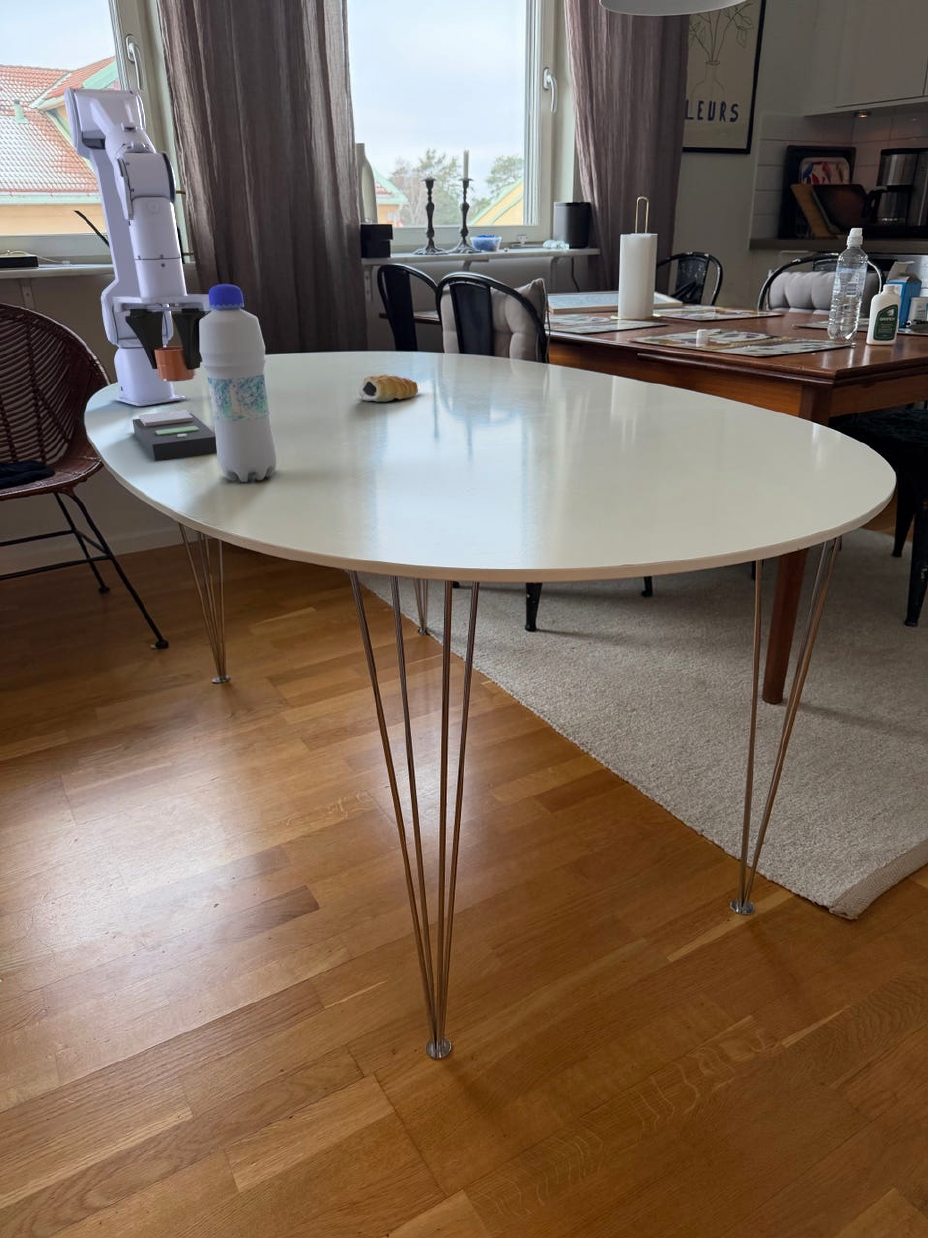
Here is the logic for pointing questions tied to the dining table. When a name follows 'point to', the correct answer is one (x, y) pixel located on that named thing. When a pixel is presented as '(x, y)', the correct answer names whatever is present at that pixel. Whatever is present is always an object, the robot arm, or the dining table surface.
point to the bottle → (237, 386)
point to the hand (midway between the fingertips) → (176, 368)
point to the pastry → (387, 388)
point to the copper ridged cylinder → (172, 364)
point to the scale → (174, 435)
